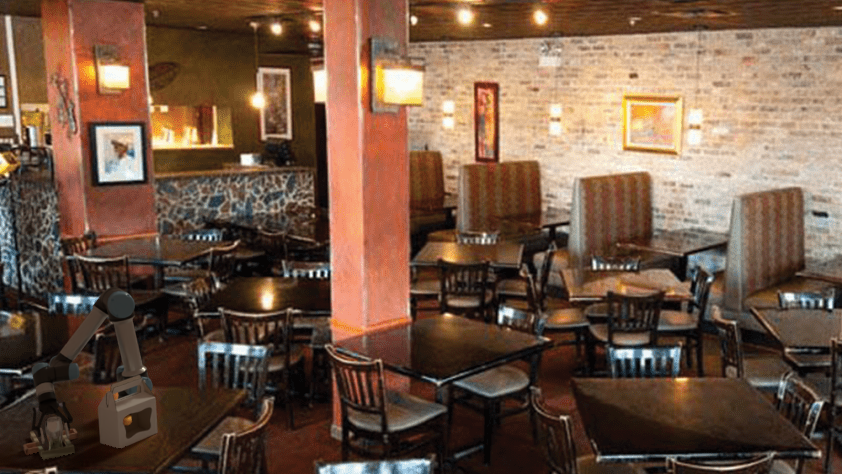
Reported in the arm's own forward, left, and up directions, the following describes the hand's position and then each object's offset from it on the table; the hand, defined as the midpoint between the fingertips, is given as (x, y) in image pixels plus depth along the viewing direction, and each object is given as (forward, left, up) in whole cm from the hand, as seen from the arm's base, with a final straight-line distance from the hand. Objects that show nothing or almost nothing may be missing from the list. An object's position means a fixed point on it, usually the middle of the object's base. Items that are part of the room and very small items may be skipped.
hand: (56, 440), depth 366 cm
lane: (+7, -10, -6) cm, 13 cm away
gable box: (-26, -18, -7) cm, 32 cm away
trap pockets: (+7, -11, -6) cm, 15 cm away
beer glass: (+2, -3, -7) cm, 7 cm away
